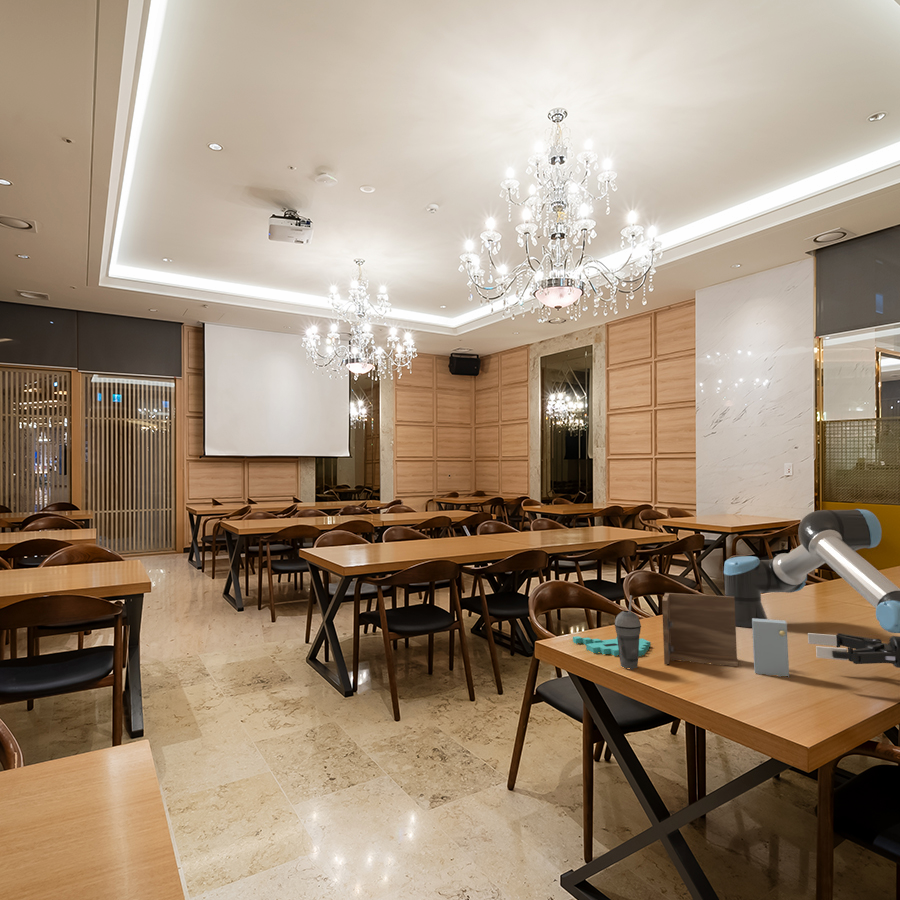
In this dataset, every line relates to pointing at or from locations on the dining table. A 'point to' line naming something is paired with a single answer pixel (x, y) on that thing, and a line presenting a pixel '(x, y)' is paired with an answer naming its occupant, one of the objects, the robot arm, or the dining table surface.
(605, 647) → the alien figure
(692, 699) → the dining table surface
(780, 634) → the door
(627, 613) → the beverage cup
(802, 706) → the dining table surface
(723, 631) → the cabinet
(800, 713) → the dining table surface
